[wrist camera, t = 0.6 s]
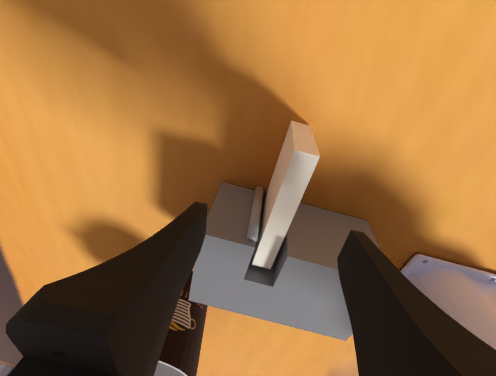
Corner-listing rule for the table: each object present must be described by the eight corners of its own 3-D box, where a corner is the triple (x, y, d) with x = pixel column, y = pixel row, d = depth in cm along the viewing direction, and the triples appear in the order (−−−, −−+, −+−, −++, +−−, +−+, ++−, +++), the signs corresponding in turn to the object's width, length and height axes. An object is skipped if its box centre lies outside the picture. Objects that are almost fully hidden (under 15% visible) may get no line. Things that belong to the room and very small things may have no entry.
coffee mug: (231, 295, 31) (213, 391, 22) (186, 312, 34) (154, 401, 26) (166, 237, 27) (113, 327, 18) (122, 263, 30) (59, 350, 22)
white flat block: (309, 125, 19) (320, 156, 13) (272, 220, 24) (270, 269, 19) (291, 120, 19) (294, 149, 13) (258, 216, 24) (251, 264, 19)
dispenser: (370, 215, 22) (403, 279, 16) (331, 274, 27) (345, 340, 21) (223, 176, 22) (201, 226, 16) (209, 242, 26) (188, 300, 20)
